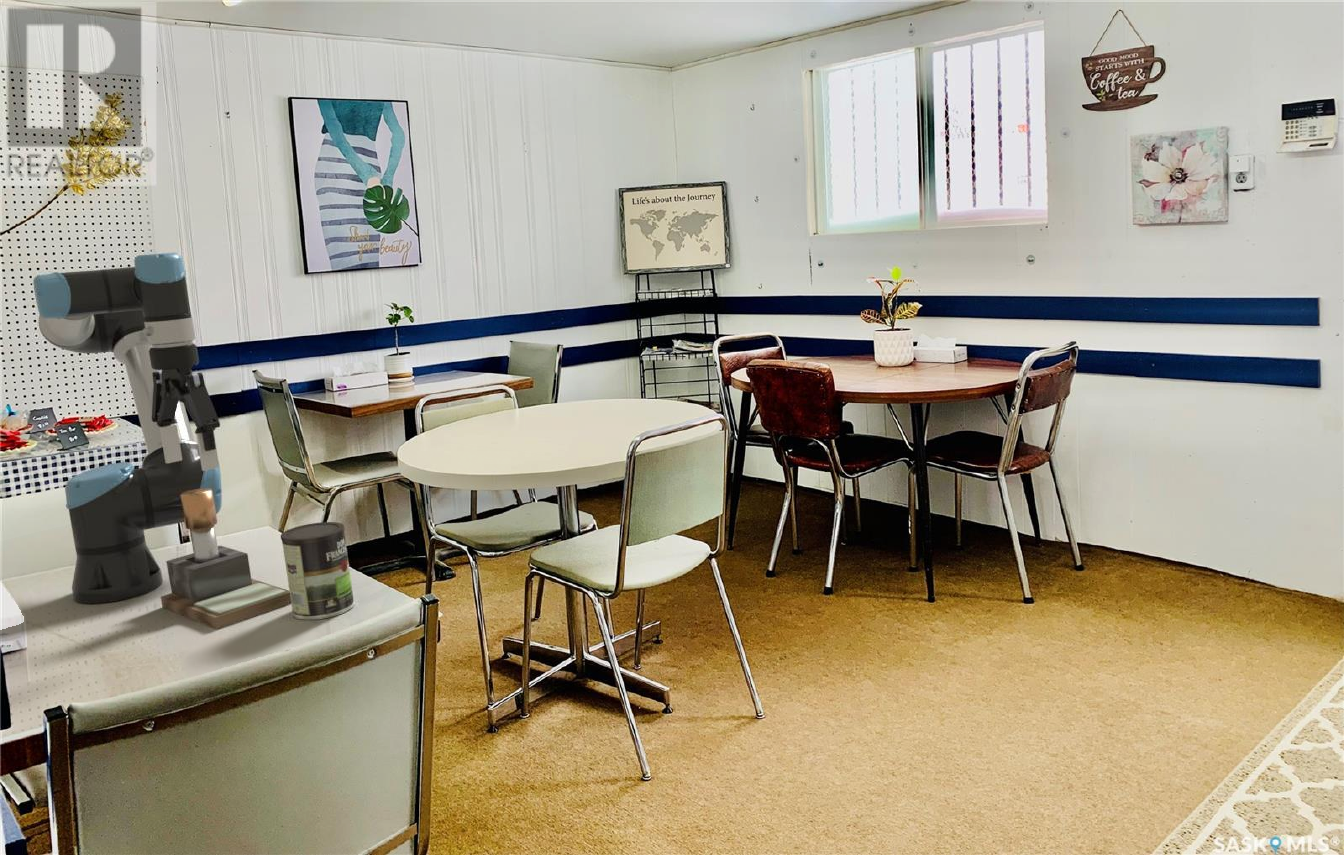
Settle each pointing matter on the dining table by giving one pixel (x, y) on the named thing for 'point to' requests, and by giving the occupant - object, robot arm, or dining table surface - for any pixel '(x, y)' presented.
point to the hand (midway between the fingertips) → (192, 465)
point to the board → (219, 589)
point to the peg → (201, 523)
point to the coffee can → (318, 570)
